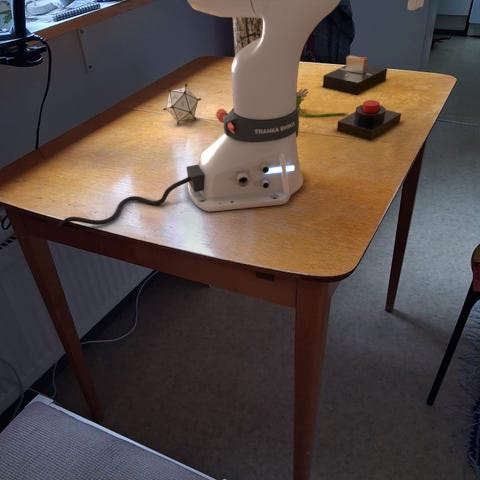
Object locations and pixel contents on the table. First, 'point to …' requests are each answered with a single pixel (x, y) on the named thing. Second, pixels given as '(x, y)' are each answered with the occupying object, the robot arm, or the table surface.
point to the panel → (354, 79)
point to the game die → (182, 104)
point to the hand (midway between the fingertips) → (414, 8)
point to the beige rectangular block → (356, 64)
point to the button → (371, 106)
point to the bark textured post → (246, 31)
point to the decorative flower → (300, 97)
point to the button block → (368, 123)
